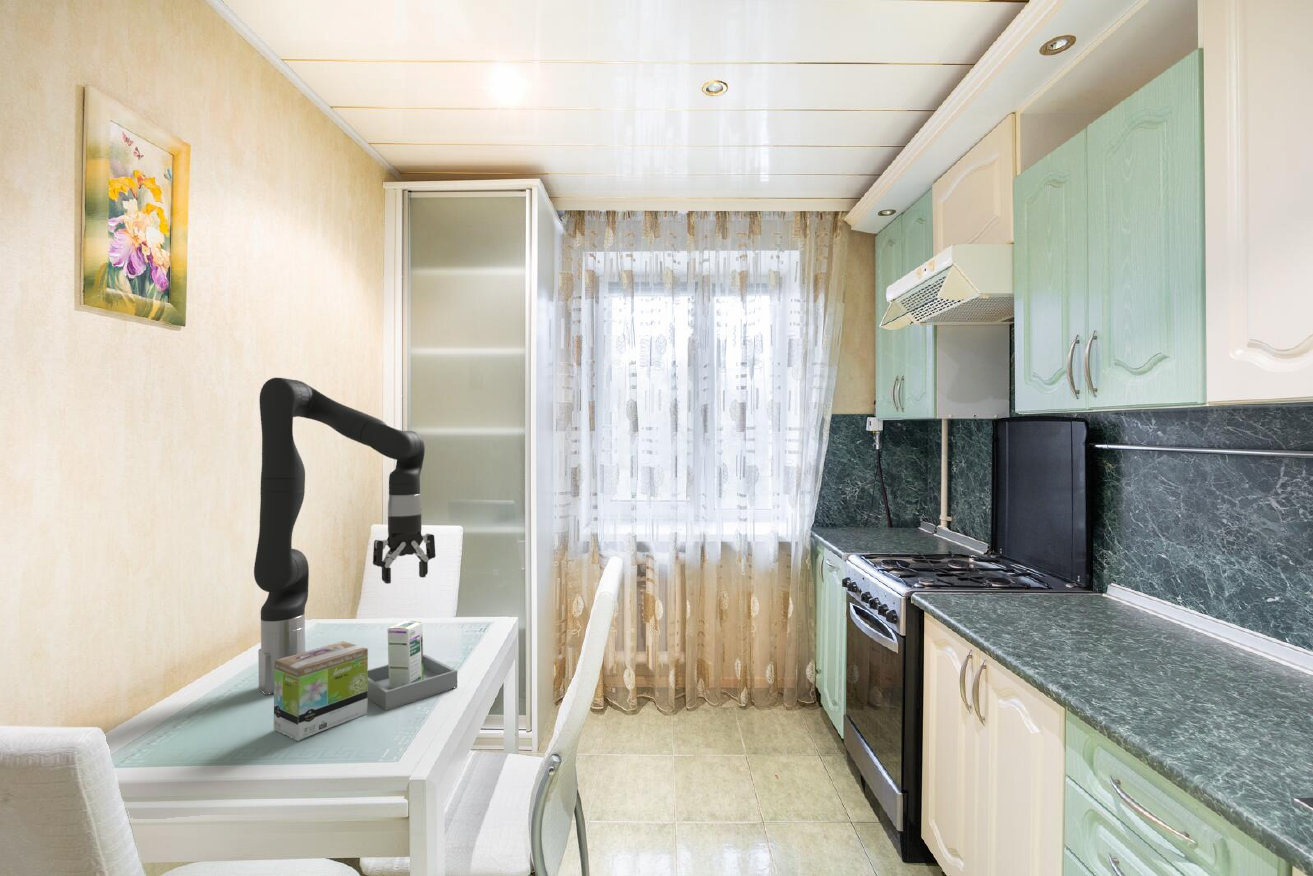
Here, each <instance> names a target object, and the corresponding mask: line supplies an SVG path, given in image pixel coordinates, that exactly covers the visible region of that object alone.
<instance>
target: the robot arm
mask: <svg viewBox="0 0 1313 876" xmlns="http://www.w3.org/2000/svg"><path fill="white" fill-rule="evenodd" d="M259 414H260V425H261V426H260V427H261V473H260V487H259V488H260V492H259V493H260V504H259V505H260V507H259V529H258V530H259V533H258V540H257V546H256V547H257V549H256V554H255V560H254V567H253V576H254V580H255V583H256V585H257V586H258V588H260V589H261V590H263V591H264V592H267V593H268V594H267V598H266V600H265V601H264V603H263V604H262V606H261V607H260V648H259V649H258V689H259V688H260V689H261V690H262V691H263V692H264V693H265V694H268V695H270V694H269V693H273V694H274V675H275V660H277V659H281V658H285V657H288V656H292V655H296V654H299V653H303V652H306V614H305V613H306V612H305V611H306V604H307V602H308V597H309V584H310V583H309V581H310V571H309V570H310V569H309V561H308V559H307V557H306V555H305V554H304V553H303V552H302V551H301V550H298V549H296V548H292V545H293V544H292V539H293V532H294V527H295V525H296V521H297V519H298V517H299V514H300V511H301V509H302V506H303V502H304V499H305V493H306V491H305V489H306V488H305V487H306V471H305V466H304V463H303V460H302V457H301V455H300V453H299V451H298V448H297V445H296V443H295V441H294V435H293V434H294V432H293V431H294V430H293V429H294V428H293V425H294V418H296V417H299V418H305V419H309V420H314V421H316V422H318V423H322V424H324V425H327V426H328V427H330V428H331V429H333V430H334V431H336V432H337V433H339V434H340V435H342V436H344V437H345V438H347V439H350V440H352V441H354V442H357V443H359V444H361V445H365V446H367V447H370V448H372V449H373V450H375V451H376V452H378V453H379V454H381V455H383V456H384V457H387V458H389V459H392V460H396V465H395V469H393V471H391V472H390V473H389V477H388V502H387V534H388V535H387V539H381V540H380V539H375V540H374V541H373V552H372V553H373V554H372V565H374V566H375V567H376V566H377V567H381V580H382V581H383V582H384V584H391V583H392V580H391V579H392V574H391V573H392V570H391V569H392V568H391V567H390V566H391V565H392V563H393V562H394V561H396V559H397V558H398V557H404V556H407V555H408V556H410V555H415V556H416V558H417V559H419V560H420V561H418V576H419V578H422V579H423V578H426V576H427V575H428V573H429V567H428V566H429V565H428V564H429V560H432V559H435V558H436V545H435V544H436V543H435V534H433V533H425V535H424V534H423V535H422V511H423V510H422V499H421V472H422V468H423V464H424V460H425V450H426V449H425V446H426V445H425V441H424V439H423V437H422V436H421V434H419V433H418V432H417V431H412V430H401V429H397V428H394V427H392V426H390V425H387V423H386V422H385V421H383V420H382V419H380V418H377V417H375V416H372V415H370V414H367V413H365V412H363V411H359V410H357V409H354V408H352V407H349V406H346V405H344V404H342V403H340V402H338V401H336V400H333V399H332V398H330V397H328V396H327V395H324V394H323V393H322V392H320V391H319V390H317V389H316V388H314V387H312V386H310V385H309V384H307V383H305V382H303V381H302V380H297V379H291V378H290V379H289V378H285V377H271V378H270V379H268V380H266V381H265V382H264V383H263V386H262V387H261V389H260V393H259ZM422 543H424V544H425V551H424V550H423V549H422V548H421V547H420V546H421V545H422ZM386 546H387V547H388V548H389V549H388V550H387V552H386V553H385V556H384V558H383V554H384V550H385V548H386ZM425 552H426V554H425ZM260 689H259V690H260ZM261 690H260V691H261ZM262 691H261V692H262ZM263 692H262V693H263ZM264 693H263V694H264ZM265 694H264V695H265Z"/></svg>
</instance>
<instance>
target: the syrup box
mask: <svg viewBox="0 0 1313 876" xmlns="http://www.w3.org/2000/svg"><path fill="white" fill-rule="evenodd" d="M423 637H424V636H423V622H421V621H413V620H408V621H407V620H406V621H405V620H404V621H401V622H399V623H396V624H395V625H393V626H390V627H387V657H388V660H387V661H388V664H389V688H397V687H401V686H404V685H407V684H411V683H414V682H417V681H421V680H424V670H423V655H424V639H423ZM388 664H387V665H388Z"/></svg>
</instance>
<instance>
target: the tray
mask: <svg viewBox="0 0 1313 876" xmlns="http://www.w3.org/2000/svg"><path fill="white" fill-rule="evenodd" d="M423 670H424V680H421V681H417V682H414V683H411V684H407V685H404V686H401V687H397V688H389V664H384V665H382V666H378V667H373V668H370V669H369V668H368V696H367V699H368V700H369V699H370V700H371V701H373V702H374V703H375V704H376V705H378V706H379V707H380V708H382V709H384V710H385V711H388V710H391V709H395V708H397V707H398V708H399V707H401V706H403V705H404V706H405V705H407V704H410V703H413V702H417V701H420V700H422V699H427V698H428V697H433V696H435V695H438V694H441V693H445V692H447V691H450V690H449V689H451V690H453V689H452V688H454V687H457V688H458V670H456V669H454V668H452V667H450V666H449V665H447V664H445V663H443V662H440V661H439V660H436V659H434V658H432V657H431V656H429V655H427V654H423ZM454 689H455V688H454ZM444 691H445V692H444Z"/></svg>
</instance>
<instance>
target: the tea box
mask: <svg viewBox="0 0 1313 876" xmlns="http://www.w3.org/2000/svg"><path fill="white" fill-rule="evenodd" d="M368 663H369V650H368V648H367V647H363V646H360V645H357V644H354V643H351V642H347V641H343V640H342V641H338V642H336V643H332V644H328V645H325V646H321V647H318V648H314V649H311V650H307V651H306V650H305V652H303V653H299V654H296V655H292V656H288V657H285V658H281V659H277V660H275V675H274V693H273V730H274V731H276V732H278V733H280V732H281V733H284V734H285V735H287V736H286V737H288V736H289V737H288V738H290V737H292V738H294V739H295V740H294V739H293V740H294V741H296V740H297V742H300V741H302V740H304V739H305V738H308V737H310V736H311V737H312V736H314V735H315V734H318V733H320V732H322V731H325V730H327V729H331V728H333V727H336V726H338V725H341V724H344V723H347V722H350V721H352V720H354V719H358V718H361V717H363V716H366V715H367V713H368V697H367V696H368V670H369V668H368V666H369V664H368ZM281 733H280V734H281ZM285 735H284V736H285ZM292 738H291V739H292Z"/></svg>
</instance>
